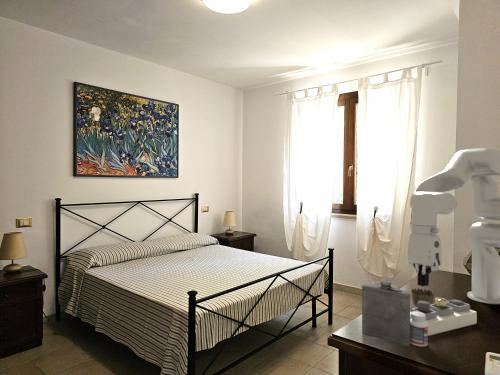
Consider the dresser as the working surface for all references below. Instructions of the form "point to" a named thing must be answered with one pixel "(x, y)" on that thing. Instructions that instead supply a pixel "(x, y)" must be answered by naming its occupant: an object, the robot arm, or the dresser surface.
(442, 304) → the brass knob
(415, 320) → the pill bottle
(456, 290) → the dresser surface
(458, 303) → the button
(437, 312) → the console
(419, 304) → the button
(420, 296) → the olive hollow bell-shaped piece
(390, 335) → the flask
